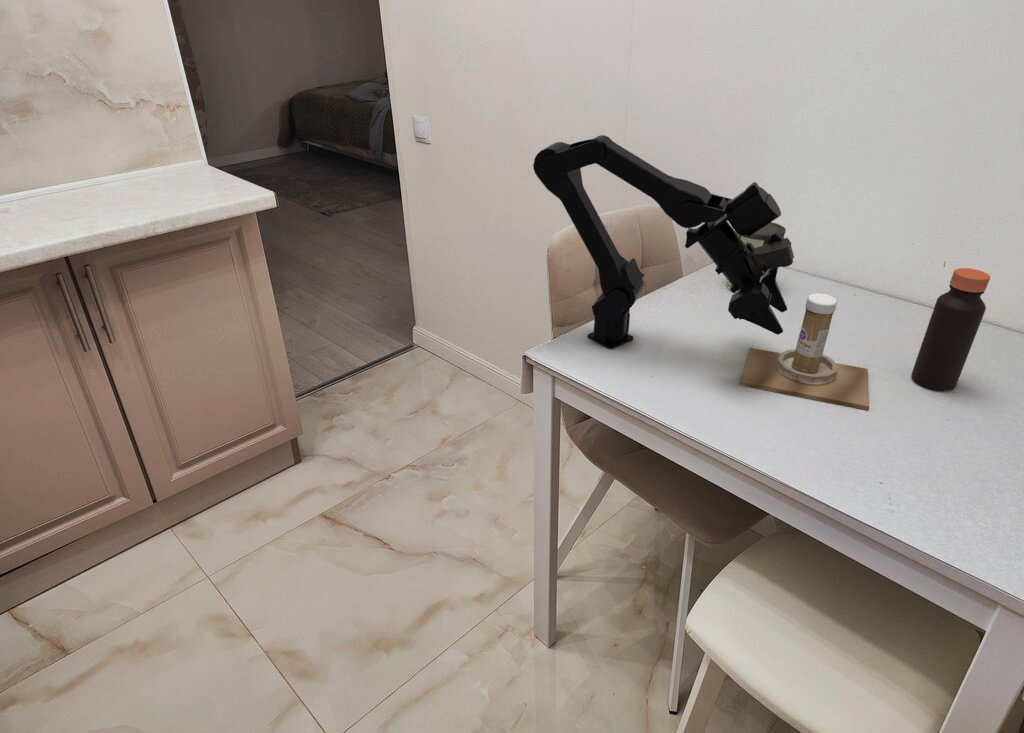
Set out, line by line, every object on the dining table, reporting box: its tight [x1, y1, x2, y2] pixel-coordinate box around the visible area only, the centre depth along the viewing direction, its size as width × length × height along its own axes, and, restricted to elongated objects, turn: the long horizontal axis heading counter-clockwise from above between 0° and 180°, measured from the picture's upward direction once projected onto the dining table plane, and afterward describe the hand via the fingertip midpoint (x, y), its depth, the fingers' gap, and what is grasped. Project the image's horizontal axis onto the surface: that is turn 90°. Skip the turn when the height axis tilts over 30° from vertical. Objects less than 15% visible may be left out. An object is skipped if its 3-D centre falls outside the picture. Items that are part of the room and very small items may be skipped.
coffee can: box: [726, 221, 787, 294], centre depth 146 cm, size 10×10×14 cm
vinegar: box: [911, 267, 991, 392], centre depth 110 cm, size 7×7×20 cm
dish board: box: [739, 347, 870, 411], centre depth 115 cm, size 20×13×2 cm, turn 66°
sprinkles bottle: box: [792, 292, 838, 374], centre depth 113 cm, size 5×5×14 cm
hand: (782, 321), depth 114 cm, fingers open, 9 cm apart
